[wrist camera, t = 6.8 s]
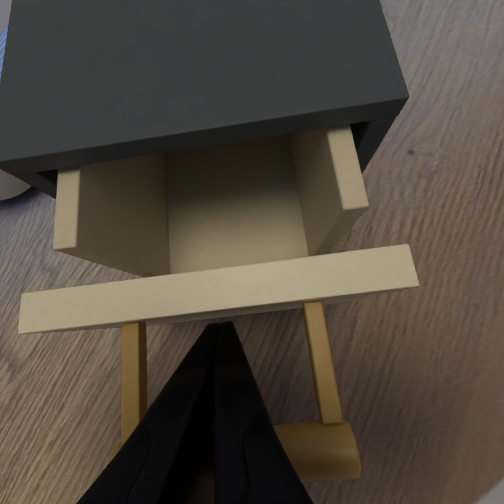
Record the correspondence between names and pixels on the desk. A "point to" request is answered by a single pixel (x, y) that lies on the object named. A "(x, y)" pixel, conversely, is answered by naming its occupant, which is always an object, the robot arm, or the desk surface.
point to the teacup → (11, 186)
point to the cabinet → (188, 78)
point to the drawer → (223, 260)
